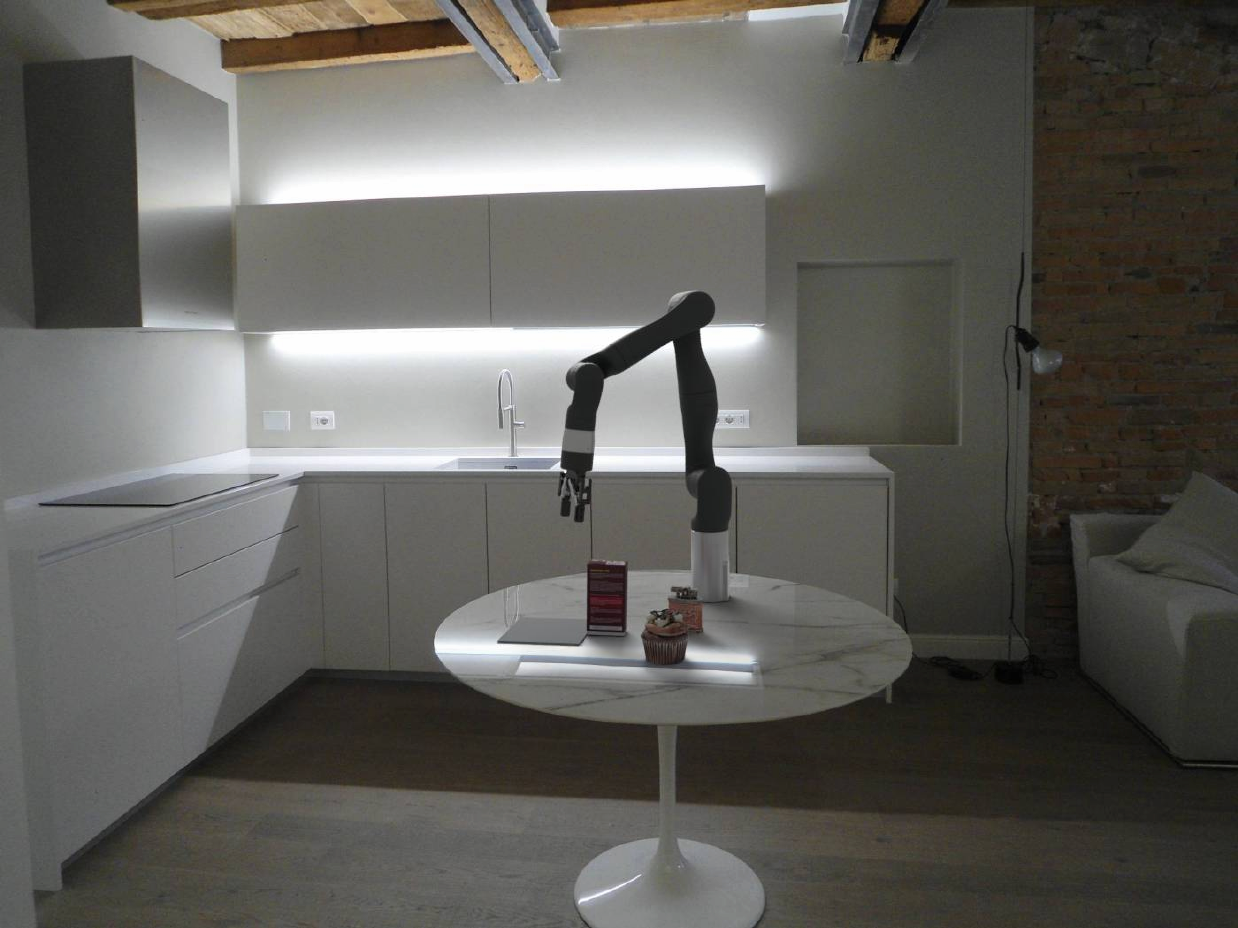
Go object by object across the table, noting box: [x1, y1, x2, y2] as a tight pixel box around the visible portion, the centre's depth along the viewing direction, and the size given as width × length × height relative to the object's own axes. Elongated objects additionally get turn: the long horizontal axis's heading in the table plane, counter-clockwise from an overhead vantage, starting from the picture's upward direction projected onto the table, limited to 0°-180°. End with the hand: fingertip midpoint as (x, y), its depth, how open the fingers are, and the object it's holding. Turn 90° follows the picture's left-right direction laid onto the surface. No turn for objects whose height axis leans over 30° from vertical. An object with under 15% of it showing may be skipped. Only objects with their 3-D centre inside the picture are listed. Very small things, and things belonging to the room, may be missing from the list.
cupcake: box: [640, 608, 690, 666], centre depth 187 cm, size 10×10×10 cm
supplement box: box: [586, 558, 629, 637], centre depth 204 cm, size 9×5×16 cm, turn 84°
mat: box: [496, 616, 588, 646], centre depth 207 cm, size 18×18×1 cm
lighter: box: [667, 585, 704, 635], centre depth 205 cm, size 8×3×10 cm, turn 65°
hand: (571, 519), depth 216 cm, fingers open, 8 cm apart
